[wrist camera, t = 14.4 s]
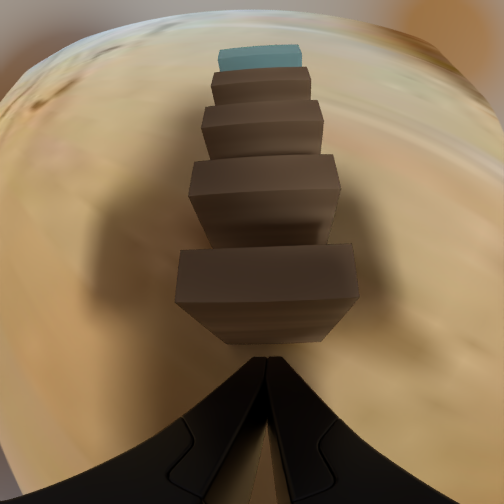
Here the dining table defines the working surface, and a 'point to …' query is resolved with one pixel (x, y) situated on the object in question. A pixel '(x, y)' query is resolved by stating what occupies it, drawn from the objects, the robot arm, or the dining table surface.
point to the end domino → (260, 57)
